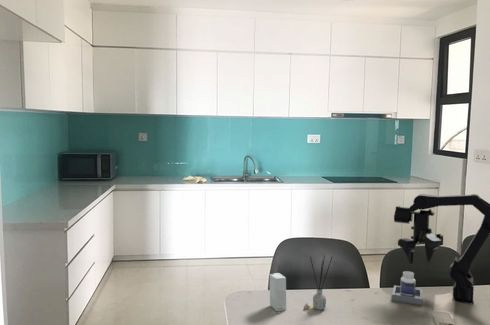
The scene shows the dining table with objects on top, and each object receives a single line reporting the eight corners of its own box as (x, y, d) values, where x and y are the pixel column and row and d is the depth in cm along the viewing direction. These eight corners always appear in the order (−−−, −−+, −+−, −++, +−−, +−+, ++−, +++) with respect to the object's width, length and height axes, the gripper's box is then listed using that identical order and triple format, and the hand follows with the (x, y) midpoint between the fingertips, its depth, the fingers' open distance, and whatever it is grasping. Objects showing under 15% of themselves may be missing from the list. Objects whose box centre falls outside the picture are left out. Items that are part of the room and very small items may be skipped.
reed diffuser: (328, 305, 148) (330, 252, 147) (334, 313, 141) (336, 258, 140) (302, 306, 147) (303, 253, 146) (307, 314, 140) (308, 259, 139)
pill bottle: (416, 300, 152) (417, 275, 152) (401, 299, 153) (402, 274, 153) (413, 294, 158) (414, 270, 157) (399, 293, 159) (399, 269, 158)
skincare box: (286, 310, 143) (287, 277, 143) (275, 312, 142) (276, 279, 141) (279, 303, 149) (280, 272, 149) (268, 305, 148) (269, 273, 147)
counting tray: (422, 295, 158) (422, 289, 158) (421, 305, 149) (422, 299, 148) (394, 291, 163) (394, 285, 162) (391, 300, 153) (392, 294, 153)
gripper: (418, 231, 151) (416, 271, 152) (455, 227, 157) (453, 266, 158) (397, 225, 161) (396, 262, 162) (432, 222, 168) (431, 258, 168)
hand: (419, 262), depth 162 cm, fingers open, 9 cm apart
